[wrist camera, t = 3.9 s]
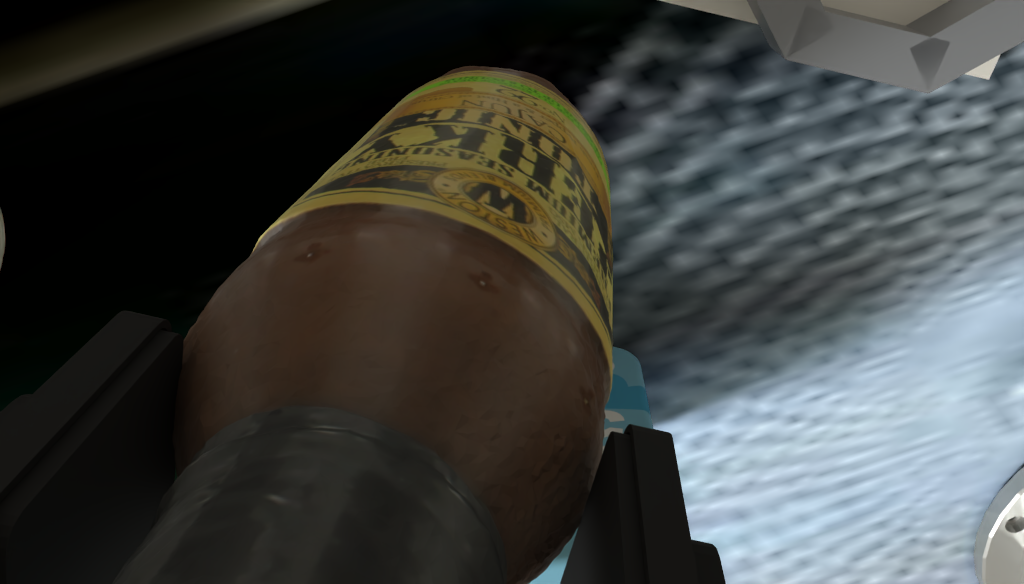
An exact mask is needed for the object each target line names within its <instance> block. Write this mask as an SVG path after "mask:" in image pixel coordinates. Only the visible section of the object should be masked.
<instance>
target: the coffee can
mask: <svg viewBox="0 0 1024 584" xmlns="http://www.w3.org/2000/svg"><path fill="white" fill-rule="evenodd" d="M4 250H5V228H4V221H3V216H2V212H1V208H0V269H1V265H2V260H3V255H4Z"/></svg>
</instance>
